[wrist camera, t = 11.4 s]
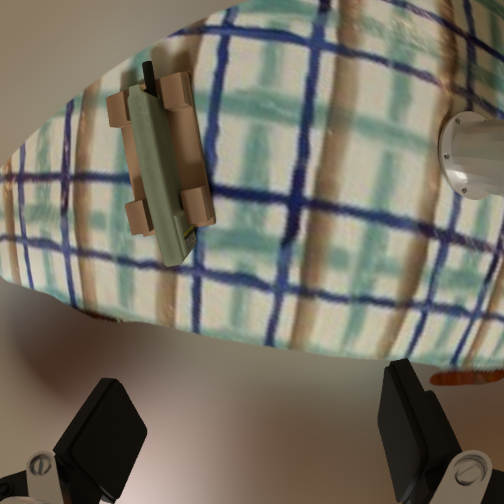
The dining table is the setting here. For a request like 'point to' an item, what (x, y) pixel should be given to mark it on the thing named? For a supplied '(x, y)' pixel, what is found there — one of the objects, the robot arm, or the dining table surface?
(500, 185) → the robot arm
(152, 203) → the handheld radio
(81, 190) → the dining table surface
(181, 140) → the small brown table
